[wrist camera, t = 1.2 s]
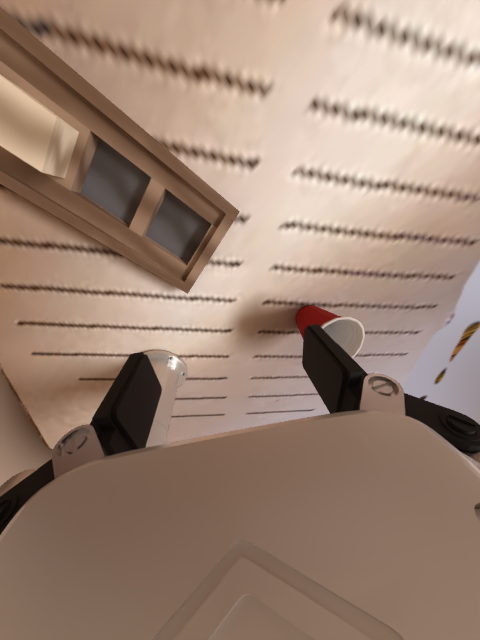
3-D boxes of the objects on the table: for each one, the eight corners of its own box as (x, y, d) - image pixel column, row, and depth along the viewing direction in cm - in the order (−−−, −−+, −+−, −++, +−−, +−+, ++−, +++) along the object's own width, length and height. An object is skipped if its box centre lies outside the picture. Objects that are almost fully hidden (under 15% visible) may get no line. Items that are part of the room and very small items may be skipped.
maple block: (64, 178, 26) (41, 172, 23) (10, 142, 24) (-25, 129, 20) (79, 132, 24) (56, 117, 21) (21, 88, 22) (-16, 63, 18)
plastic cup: (337, 319, 46) (375, 349, 35) (298, 343, 48) (322, 378, 37) (320, 283, 41) (357, 306, 30) (277, 312, 43) (298, 342, 32)
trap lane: (189, 287, 38) (185, 298, 32) (-109, 108, 23) (-204, 75, 18) (237, 212, 33) (241, 211, 27) (-105, -78, 18) (-235, -199, 13)
